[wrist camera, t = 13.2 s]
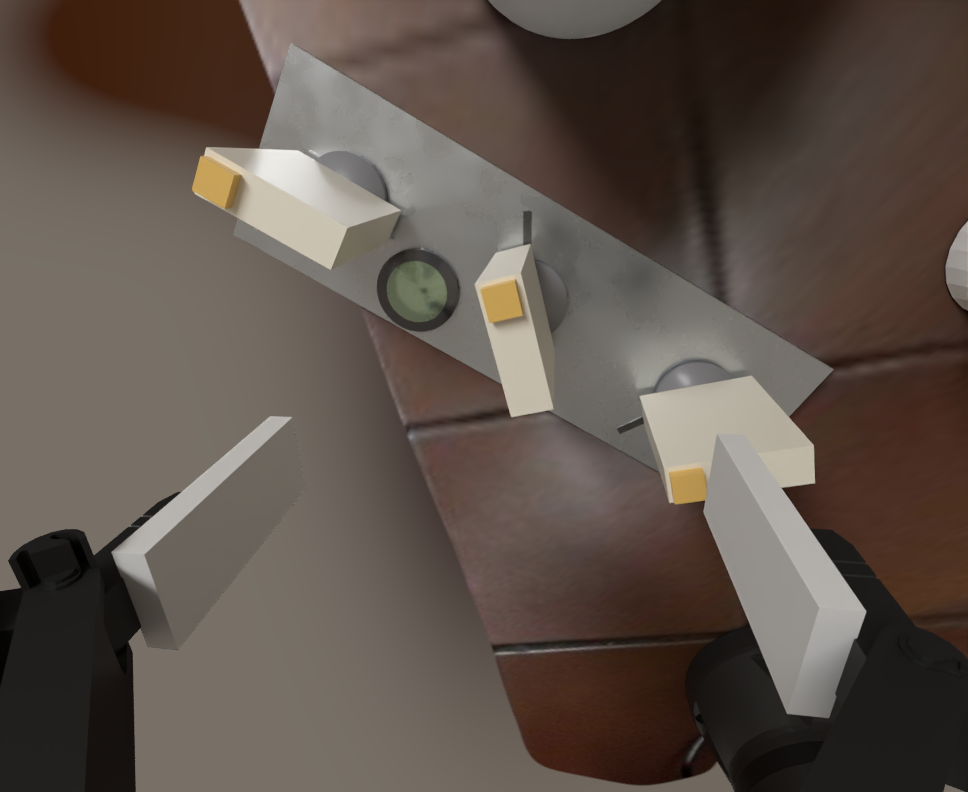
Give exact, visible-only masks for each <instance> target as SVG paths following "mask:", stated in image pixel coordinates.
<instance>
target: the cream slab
mask: <svg viewBox="0 0 968 792" xmlns="http://www.w3.org/2000/svg"><path fill="white" fill-rule="evenodd" d="M192 191H194V192H195V194H196V195H198V196H200V197H202V198H203V199H205V200H207V201H209V202H210V203H212V204H214V205H216V206H217V207H219V208H221V209H223V210H225V211H227V212H228V213H230V214H232V215H234V216H235V217H237V218H239V219H241V220H242V221H244V222H246V223H248V224H250V225H251V226H253V227H255V228H257V229H258V230H260V231H262V232H264V233H266V234H267V235H269V236H271V237H273V238H275V239H276V240H278V241H280V242H282V243H283V244H285V245H287V246H289V247H291V248H292V249H294V250H296V251H298V252H299V253H301V254H303V255H305V256H307V257H308V258H310V259H312V260H314V261H316V262H317V263H319V264H321V265H323V266H324V267H326V268H328V269H330V270H332V269H334V268H336V267H338V266H340V265H342V264H344V263H346V262H348V261H350V260H352V259H354V258H357V257H359V256H361V255H363V254H365V253H367V252H369V251H371V250H373V249H375V248H377V247H379V246H381V245H383V244H385V243H387V242H388V239H389V237H390V235H391V233H392V230H393V228H394V226H395V224H396V221H397V219H398V217H399V215H400V212H401V210H400V209H398V208H396V207H395V206H393V205H391V204H390V203H388V202H387V193H386V188H385V185H384V182H383V180H382V178H381V176H380V174H379V172H378V171H377V170H376V168H375V167H374V166H373V165H372V164H371V163H370V162H369V161H368V160H366V159H365V158H363V157H362V156H360V155H358V154H355V153H352V152H348V151H332V152H328V153H326V154H323V155H322V156H320V157H318V158H317V159H316V160H314V159H312V158H310V157H309V156H307V155H305V154H303V153H302V152H300V151H298V150H275V149H246V148H216V147H207V148H206V151H205V155H204V156H200V160H199V164H198V168H197V172H196V176H195V180H194V184H193V188H192Z"/></svg>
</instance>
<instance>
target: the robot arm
mask: <svg viewBox="0 0 968 792" xmlns="http://www.w3.org/2000/svg"><path fill="white" fill-rule="evenodd" d="M305 490H306V488H305V482H304V477H303V472H302V466H301V461H300V455H299V450H298V445H297V440H296V434H295V429H294V424H293V418H292V417H273V416H270V417H269V418H268V419H267V420H265V421H264V422H263V423H262V424H261V425H260V426H259V427H257V428H256V429H255V430H254V431H252V432H251V433H250V434H249V435H248V436H247V437H245V438H244V439H243V440H242V441H241V442H240V443H239V444H237V445H236V446H235V447H234V448H233V449H231V451H229V452H228V453H227V454H226V455H225V456H223V457H222V458H221V459H220V460H219V461H217V462H216V463H215V464H214V465H213V466H212V467H210V468H209V469H208V470H207V471H206V472H204V473H203V474H202V475H201V476H200V477H199V478H197V479H196V480H195V481H194V482H193V483H192V484H190V485H189V486H188V487H187V488H186V489H185V490H184V491H182V492H177V493H175V494H173V495H171V496H169V497H167V498H165V499H163V500H162V501H160V502H158V503H157V504H156V505H154V506H153V507H152V508H151V509H149V510H148V511H147V512H146V513H145V514H144V515H143V517H140V518H139V519H137V520H136V521H135V522H134V523H133V524H132V525H131V527H128V528H126V529H125V530H124V531H123V532H122V533H120V534H119V535H118V536H117V537H116V538H114V539H113V540H112V541H111V542H110V543H109V544H107V545H106V546H105V547H104V548H102V550H100V551H99V552H98V553H97V554H95V555H93V553H92V550H91V548H90V546H89V543H88V541H87V538H86V536H85V533H84V532H83V531H80V530H77V529H65V530H60V531H56V532H51V533H49V534H46V535H43V536H40V537H38V538H35V539H34V540H32V541H30V542H28V543H26V544H24V545H23V546H21V547H20V548H19V549H18V550H16V551H15V552H14V553H13V554H12V556H11V557H10V559H9V560H8V561H9V564H10V565H11V568H12V570H13V572H14V574H15V576H16V578H17V580H18V582H19V584H20V586H21V588H18V589H12V590H5V591H0V792H136V786H135V739H134V694H133V653H132V650H131V647H130V645H129V642H128V641H129V640H130V639H131V638H132V637H133V635H134V634H135V633H136V632H137V631H138V630H139V629H140V628H141V631H142V633H143V635H144V638H145V641H146V643H147V646H148V647H152V648H162V649H172V650H179V648H180V647H181V646H182V645H183V643H184V642H185V641H186V639H187V638H188V637H189V636H190V634H191V633H192V632H193V631H194V629H195V628H196V627H197V626H198V624H199V623H200V621H202V619H203V618H204V617H205V615H206V614H207V613H208V612H209V611H210V609H211V608H212V607H213V605H214V604H215V603H216V602H217V600H218V599H219V598H220V596H221V595H222V594H223V593H224V592H225V590H226V589H227V588H228V587H229V585H230V584H231V583H232V582H233V580H234V579H235V578H236V577H237V575H238V574H239V573H240V571H241V570H242V569H243V568H244V566H245V565H246V564H247V563H248V561H249V560H250V559H251V558H252V556H253V555H254V554H255V553H256V551H257V550H258V549H259V547H260V546H261V545H262V544H263V543H264V541H265V540H266V539H267V537H268V536H269V535H270V534H271V532H272V531H273V530H274V529H275V527H276V526H277V525H278V524H279V522H280V521H281V520H282V519H283V517H284V516H285V515H286V514H287V512H288V511H289V510H290V508H291V507H292V506H293V505H294V503H295V502H296V501H297V500H298V498H299V497H300V496H301V495H302V493H303V492H304V491H305ZM704 515H705V517H706V520H707V522H708V524H709V527H710V529H711V532H712V534H713V537H714V539H715V541H716V544H717V546H718V549H719V551H720V553H721V556H722V558H723V561H724V563H725V565H726V568H727V570H728V573H729V575H730V578H731V580H732V582H733V585H734V587H735V590H736V592H737V594H738V597H739V599H740V602H741V604H742V607H743V609H744V611H745V614H746V616H747V619H748V621H749V623H750V626H747V627H743V628H740V629H737V630H734V631H732V632H729V633H727V634H725V635H723V636H721V637H719V638H717V639H716V640H714V641H713V642H711V643H710V644H708V645H707V646H706V647H705V648H704V649H703V650H702V651H701V652H700V653H699V654H698V655H697V656H696V657H695V659H694V660H693V662H692V663H691V665H690V667H689V669H688V672H687V676H686V683H685V687H686V694H687V698H688V702H689V706H690V710H691V714H692V717H693V720H694V722H695V724H696V726H697V728H698V730H699V732H700V733H701V735H702V736H703V738H704V740H705V742H706V743H707V745H708V747H709V748H710V750H711V752H712V753H713V755H714V757H715V758H716V760H717V762H718V763H719V765H720V767H721V768H722V770H723V772H724V773H725V775H726V777H727V778H728V780H729V782H730V783H731V785H732V786H733V789H734V792H943V790H944V787H945V784H947V785H949V786H952V787H955V788H957V789H960V790H963V791H965V792H968V659H967V658H966V656H965V655H964V654H963V653H962V652H960V651H959V650H958V649H957V648H956V647H955V646H953V645H952V644H951V643H950V642H948V641H946V640H944V639H943V638H941V637H939V636H937V635H936V634H934V633H932V632H929V631H926V630H923V629H921V628H918V627H916V626H915V625H914V624H913V622H912V621H911V620H910V619H909V617H908V616H907V615H906V613H905V612H904V611H903V610H902V608H901V607H900V606H899V604H898V603H897V602H896V600H895V599H894V598H893V597H892V595H891V594H890V593H889V591H888V590H887V589H886V588H885V586H884V585H883V584H882V582H881V581H880V580H879V579H876V575H875V573H874V572H873V571H872V569H871V568H870V567H869V566H868V565H866V564H865V560H864V559H863V558H862V557H861V555H860V554H859V553H858V551H857V550H856V549H855V548H854V546H853V545H852V544H850V543H849V542H848V541H846V540H845V539H844V538H842V537H841V536H839V535H838V534H837V533H835V532H834V531H833V530H824V529H809V527H808V526H807V524H806V523H805V522H804V520H803V519H802V517H801V516H800V514H799V513H798V511H797V510H796V508H795V507H794V506H793V504H792V503H791V501H790V500H789V498H788V497H787V495H786V494H785V493H784V491H783V490H782V488H781V487H780V485H779V484H778V482H777V481H776V479H775V478H774V477H773V475H772V474H771V472H770V471H769V469H768V468H767V466H766V465H765V463H764V462H763V461H762V459H761V458H760V456H759V455H758V453H757V452H756V450H755V449H754V448H753V446H752V445H751V443H750V442H749V440H748V439H747V437H746V436H745V435H738V434H717V436H716V442H715V448H714V453H713V459H712V465H711V471H710V477H709V483H708V488H707V494H706V500H705V506H704Z"/></svg>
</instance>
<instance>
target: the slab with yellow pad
mask: <svg viewBox="0 0 968 792" xmlns="http://www.w3.org/2000/svg"><path fill="white" fill-rule="evenodd" d="M640 402H641V408H642V414H643V420H644V425H645V428H646V432H647V435H648V438H649V441H650V444H651V447H652V450H653V453H654V456H655V460H656V463H657V466H658V469H659V472H660V475H661V478H662V481H663V485H664V488H665V491H666V494H667V497H668V500H669V503H672V502H674V503H675V504H682V503H690V502H697V501H705V500H706V494H707V488H708V483H709V477H710V471H711V465H712V459H713V453H714V448H715V442H716V436H717V434H738V435H745V436H746V437H747V439H748V440H749V442H750V443H751V445H752V446H753V448H754V449H755V450H756V452H757V453H758V455H759V456H760V458H761V459H762V461H763V462H764V463H765V465H766V466H767V468H768V469H769V471H770V472H771V474H772V475H773V477H774V478H775V479H776V481H777V482H778V484H779V485H780V487H781V488H783V487H790V486H798V485H805V484H812V483H815V471H814V445H813V444H812V443H811V442H810V441H809V439H808V438H807V437H806V436H805V435H804V434H803V433H802V432H801V430H800V429H799V428H798V427H797V426H796V425H795V424H794V423H793V421H792V420H791V419H790V418H789V417H788V416H787V415H786V414H785V412H784V411H783V410H782V409H781V408H780V407H779V406H778V405H777V403H776V402H775V401H774V400H773V399H772V398H771V397H770V396H769V394H768V393H767V392H766V391H765V390H764V389H763V388H762V387H761V385H760V384H759V383H758V382H757V381H756V380H755V379H754V378H753V376H747V377H741V378H735V379H732V378H731V376H730V375H729V374H728V373H727V372H726V371H725V370H724V369H723V368H721V367H719V366H717V365H715V364H712V363H709V362H702V361H696V362H689V363H685V364H682V365H679V366H678V367H676V368H674V369H672V370H671V371H669V372H668V373H667V374H666V375H665V376H664V377H663V378H662V380H661V381H660V382H659V384H658V386H657V388H656V391H655V393H653V394H647V395H642V396H640Z"/></svg>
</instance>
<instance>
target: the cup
mask: <svg viewBox="0 0 968 792" xmlns="http://www.w3.org/2000/svg"><path fill="white" fill-rule="evenodd" d="M945 267H946V283H947V286H948V288H949V291H950V293H951V296H952V297H953V298H954V300H955V301H956V302H957V303H958V304H959V305H960V306H961V307H962V308H963V309H965V310H967V311H968V221H967V223H966V224H965V225H964V226H963V227H962V228H961V230H960V231H959V233H958V235H957V237H956V238H955V240H954V242H953V244H952V246H951V248H950V251H949V254H948V258H947V262H946V266H945Z"/></svg>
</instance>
